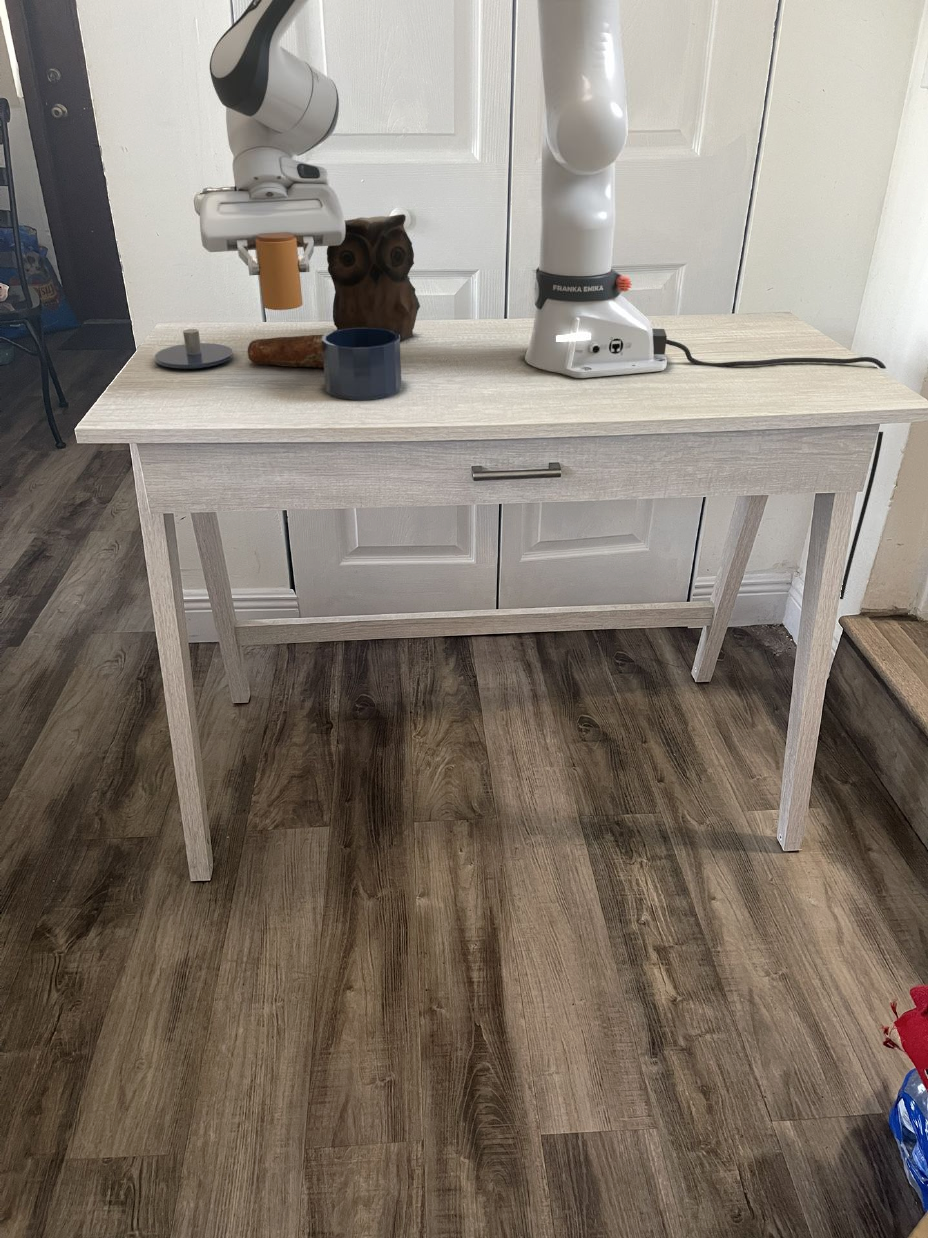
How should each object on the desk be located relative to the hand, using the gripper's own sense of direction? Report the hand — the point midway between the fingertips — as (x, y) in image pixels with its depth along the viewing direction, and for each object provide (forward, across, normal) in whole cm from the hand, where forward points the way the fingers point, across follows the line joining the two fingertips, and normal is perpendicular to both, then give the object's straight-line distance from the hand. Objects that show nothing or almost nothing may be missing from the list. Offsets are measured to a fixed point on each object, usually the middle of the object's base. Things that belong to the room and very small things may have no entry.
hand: (280, 271), depth 132 cm
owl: (-6, +17, +29) cm, 34 cm away
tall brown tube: (+3, 0, +4) cm, 5 cm away
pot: (+14, +10, +10) cm, 20 cm away
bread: (+5, +3, +18) cm, 19 cm away
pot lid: (-1, -14, +23) cm, 27 cm away
